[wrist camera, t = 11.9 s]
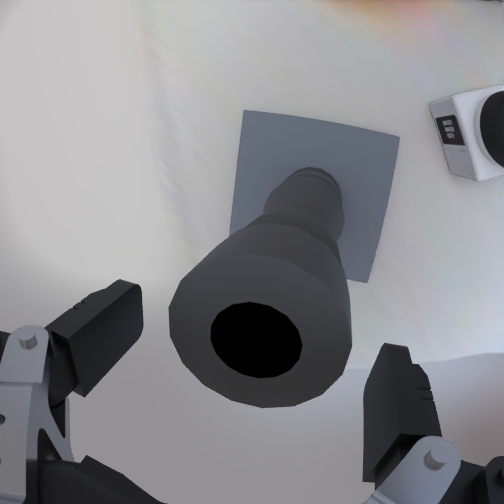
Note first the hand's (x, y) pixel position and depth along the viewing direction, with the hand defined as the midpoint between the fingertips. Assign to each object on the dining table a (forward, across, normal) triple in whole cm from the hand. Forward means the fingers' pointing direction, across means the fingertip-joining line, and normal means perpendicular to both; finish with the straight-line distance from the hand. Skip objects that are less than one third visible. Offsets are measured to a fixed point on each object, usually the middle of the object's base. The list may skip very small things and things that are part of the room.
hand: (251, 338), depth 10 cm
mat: (+26, 0, 0) cm, 26 cm away
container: (+26, -16, -11) cm, 32 cm away
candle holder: (+25, 0, 0) cm, 25 cm away
